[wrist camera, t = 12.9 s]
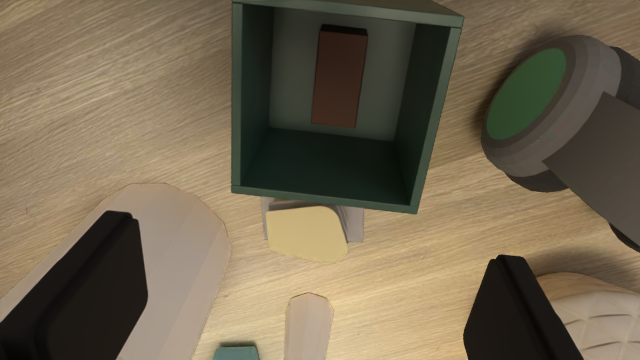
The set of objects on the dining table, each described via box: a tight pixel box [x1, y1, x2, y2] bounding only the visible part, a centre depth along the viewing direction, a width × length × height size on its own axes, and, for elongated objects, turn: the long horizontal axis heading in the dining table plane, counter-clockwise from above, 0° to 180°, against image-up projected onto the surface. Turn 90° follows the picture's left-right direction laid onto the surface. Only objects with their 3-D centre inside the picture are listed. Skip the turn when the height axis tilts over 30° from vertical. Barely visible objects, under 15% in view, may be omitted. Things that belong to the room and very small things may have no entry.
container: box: [0, 183, 232, 360], centre depth 37 cm, size 14×14×18 cm
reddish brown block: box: [311, 24, 368, 128], centre depth 33 cm, size 7×4×4 cm, turn 174°
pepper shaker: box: [284, 293, 334, 360], centre depth 43 cm, size 5×5×11 cm
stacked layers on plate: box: [261, 196, 364, 264], centre depth 39 cm, size 10×9×6 cm
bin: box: [231, 0, 464, 214], centre depth 30 cm, size 12×12×12 cm
